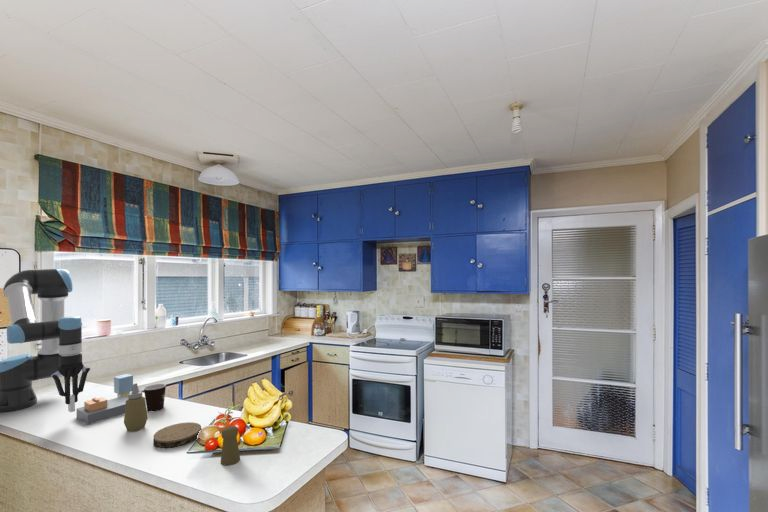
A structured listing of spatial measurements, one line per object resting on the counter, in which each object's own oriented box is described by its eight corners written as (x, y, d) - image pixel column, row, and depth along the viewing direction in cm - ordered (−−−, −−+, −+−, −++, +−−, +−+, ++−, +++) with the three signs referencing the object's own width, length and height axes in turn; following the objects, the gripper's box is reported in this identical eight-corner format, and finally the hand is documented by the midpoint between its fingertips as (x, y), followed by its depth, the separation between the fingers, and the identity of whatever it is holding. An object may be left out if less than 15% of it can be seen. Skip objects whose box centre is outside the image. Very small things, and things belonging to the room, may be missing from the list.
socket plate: (87, 424, 161) (87, 414, 161) (76, 417, 169) (76, 408, 169) (135, 410, 176) (135, 401, 176) (123, 404, 183) (123, 396, 183)
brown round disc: (168, 453, 135) (168, 444, 135) (144, 443, 144) (144, 434, 144) (210, 435, 149) (210, 427, 149) (186, 426, 157) (186, 419, 157)
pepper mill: (223, 457, 131) (223, 424, 131) (242, 455, 132) (241, 422, 132) (217, 466, 125) (217, 431, 125) (237, 465, 126) (236, 430, 126)
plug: (114, 400, 189) (113, 376, 190) (128, 396, 194) (127, 373, 194) (119, 402, 186) (119, 378, 186) (133, 399, 191) (132, 375, 191)
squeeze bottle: (152, 426, 158) (151, 381, 158) (134, 434, 150) (133, 387, 150) (137, 423, 161) (137, 380, 161) (118, 432, 153) (118, 386, 153)
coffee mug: (156, 413, 172) (155, 390, 172) (139, 412, 173) (139, 389, 174) (175, 403, 183) (175, 382, 183) (159, 402, 185) (159, 381, 185)
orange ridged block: (89, 411, 165) (89, 402, 165) (84, 408, 168) (84, 399, 168) (107, 406, 170) (107, 398, 170) (101, 403, 174) (101, 395, 174)
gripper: (53, 358, 155) (54, 418, 155) (92, 351, 165) (93, 407, 165) (47, 356, 159) (48, 414, 159) (86, 349, 170) (87, 404, 170)
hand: (71, 411), depth 162 cm, fingers closed
